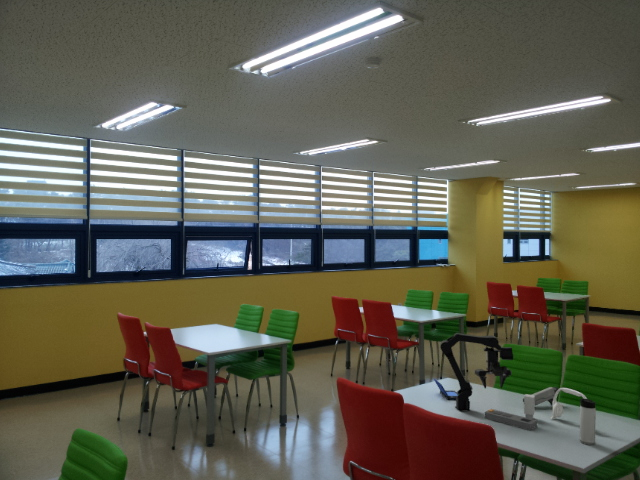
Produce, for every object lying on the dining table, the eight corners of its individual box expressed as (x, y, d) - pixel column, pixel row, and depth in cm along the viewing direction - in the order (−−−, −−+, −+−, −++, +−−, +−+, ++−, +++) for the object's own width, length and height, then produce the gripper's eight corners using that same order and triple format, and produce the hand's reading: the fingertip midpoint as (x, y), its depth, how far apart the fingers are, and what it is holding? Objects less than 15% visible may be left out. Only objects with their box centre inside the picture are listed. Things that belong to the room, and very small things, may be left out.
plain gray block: (524, 418, 259) (524, 396, 259) (525, 416, 263) (525, 394, 263) (533, 420, 256) (533, 397, 257) (534, 417, 260) (534, 395, 261)
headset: (594, 429, 244) (594, 393, 245) (585, 432, 241) (585, 395, 241) (557, 417, 262) (558, 383, 262) (549, 419, 258) (549, 385, 259)
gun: (561, 402, 284) (558, 385, 283) (528, 416, 275) (525, 399, 275) (558, 401, 286) (555, 384, 286) (524, 415, 278) (521, 398, 277)
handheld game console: (463, 400, 289) (463, 384, 289) (441, 400, 288) (441, 384, 289) (454, 392, 305) (454, 377, 305) (433, 392, 304) (433, 377, 304)
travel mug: (576, 440, 231) (576, 397, 231) (589, 439, 231) (590, 397, 232) (584, 445, 224) (585, 401, 225) (598, 445, 225) (598, 401, 225)
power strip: (484, 417, 259) (484, 410, 259) (491, 414, 265) (491, 407, 265) (530, 430, 242) (530, 423, 242) (536, 426, 248) (536, 419, 248)
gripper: (483, 363, 260) (483, 393, 260) (516, 362, 263) (517, 391, 262) (474, 358, 271) (474, 387, 271) (506, 357, 274) (506, 385, 273)
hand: (493, 388), depth 269 cm, fingers open, 9 cm apart
